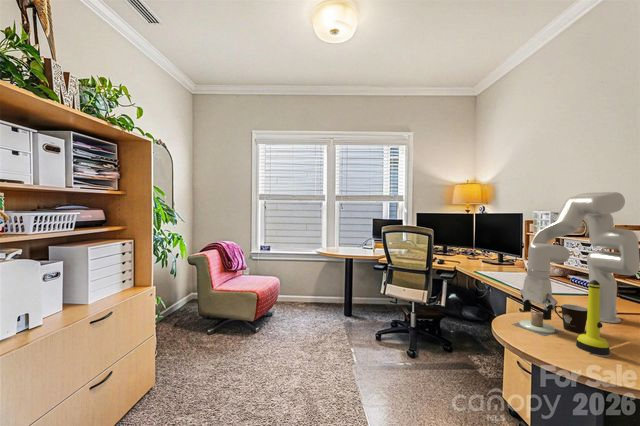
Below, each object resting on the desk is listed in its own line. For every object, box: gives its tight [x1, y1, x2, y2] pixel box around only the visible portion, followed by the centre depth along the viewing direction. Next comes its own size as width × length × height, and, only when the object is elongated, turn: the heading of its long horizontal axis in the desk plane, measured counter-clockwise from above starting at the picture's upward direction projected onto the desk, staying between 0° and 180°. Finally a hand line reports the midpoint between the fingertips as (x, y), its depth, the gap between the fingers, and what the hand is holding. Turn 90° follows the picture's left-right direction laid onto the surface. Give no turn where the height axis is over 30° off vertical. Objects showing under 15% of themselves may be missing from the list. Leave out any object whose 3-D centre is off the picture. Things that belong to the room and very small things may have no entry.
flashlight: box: [575, 280, 611, 358], centre depth 105 cm, size 25×9×9 cm
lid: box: [519, 311, 556, 334], centre depth 124 cm, size 12×12×6 cm
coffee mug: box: [553, 303, 588, 335], centre depth 124 cm, size 12×9×10 cm
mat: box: [511, 322, 565, 337], centre depth 124 cm, size 13×13×1 cm
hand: (536, 315), depth 124 cm, fingers open, 9 cm apart
